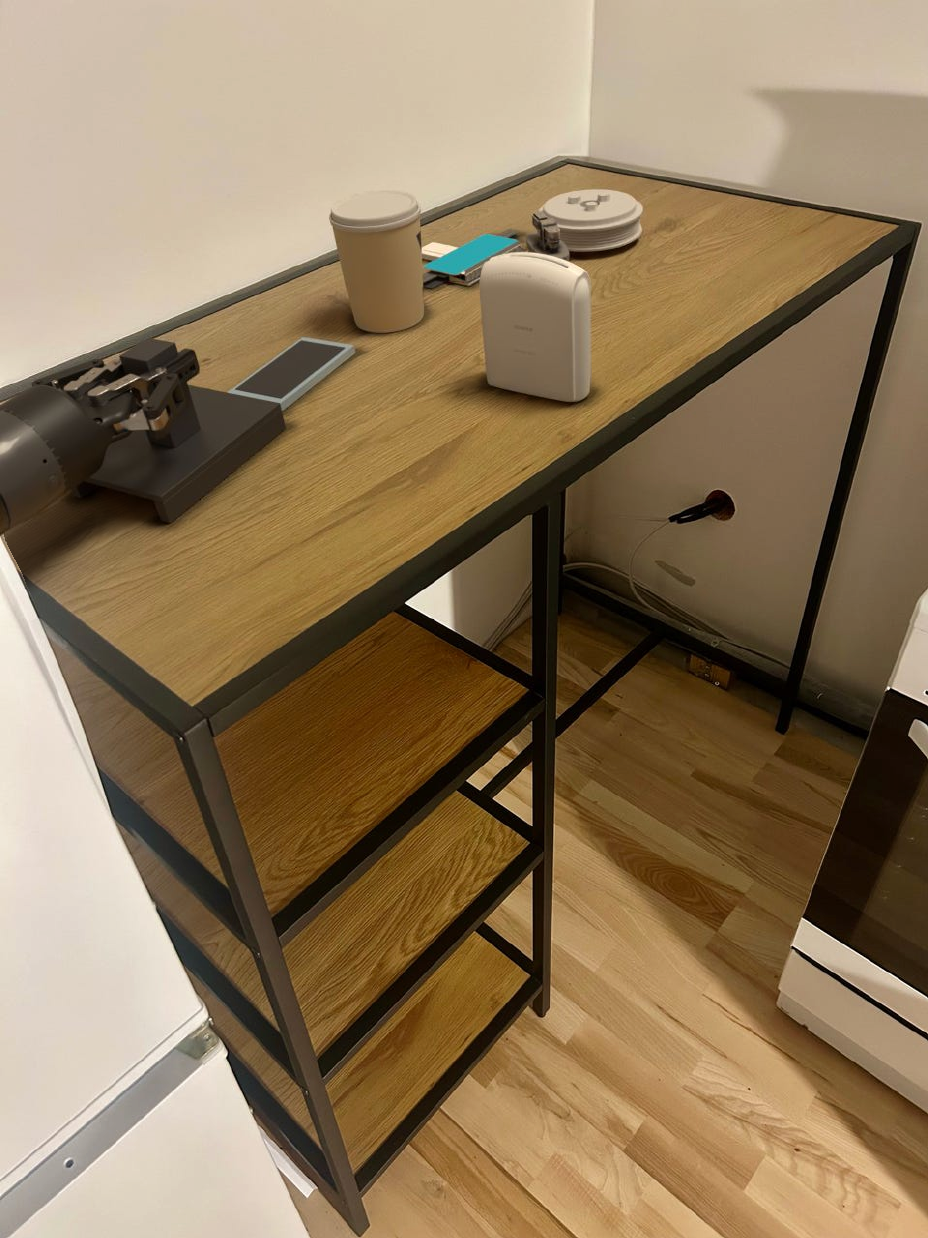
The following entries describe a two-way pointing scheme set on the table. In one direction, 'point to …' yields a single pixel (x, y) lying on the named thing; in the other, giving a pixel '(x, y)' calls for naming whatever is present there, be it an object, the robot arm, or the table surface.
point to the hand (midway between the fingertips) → (177, 356)
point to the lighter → (546, 237)
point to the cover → (185, 441)
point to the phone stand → (465, 258)
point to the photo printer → (537, 325)
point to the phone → (294, 371)
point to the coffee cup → (381, 258)
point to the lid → (595, 219)
